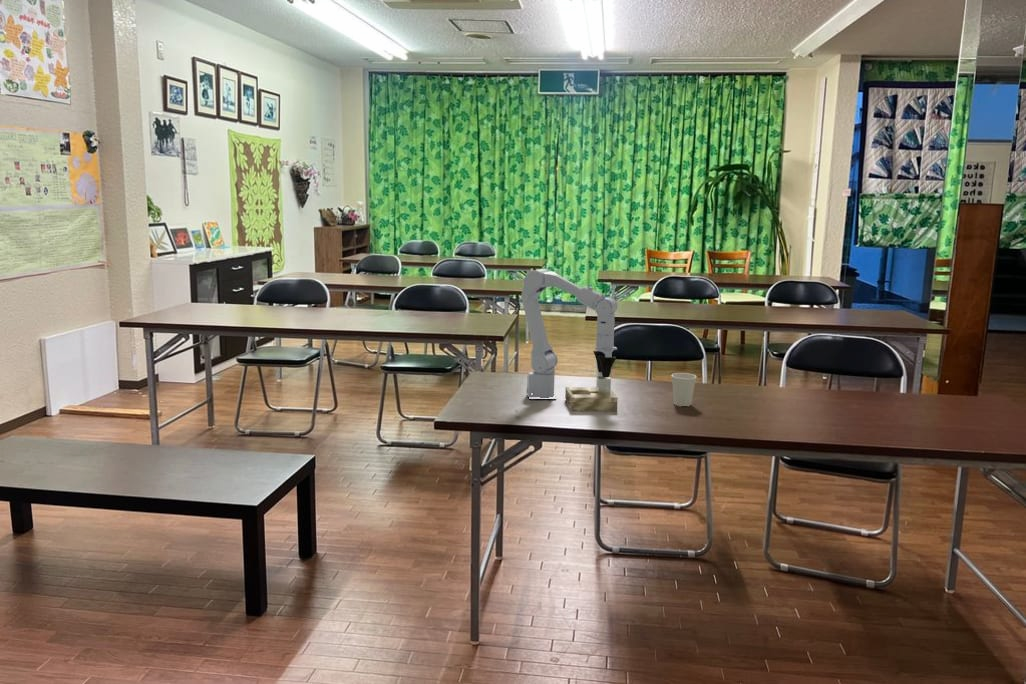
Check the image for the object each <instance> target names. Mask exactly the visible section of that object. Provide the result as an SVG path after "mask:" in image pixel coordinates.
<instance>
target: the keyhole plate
mask: <svg viewBox="0 0 1026 684" xmlns="http://www.w3.org/2000/svg"><path fill="white" fill-rule="evenodd" d="M564 396H565V397H564V400H565V399H566V401H570V402H569V403H570V405H569V409H570V408H571V410H603V411H602V412H617V411H618V402H619V400H618V399H619V397H618V396H617V395H616V394H615V393H614V391H613V389H612V388H611V389H610V394H598V393H597V391H596V386H592V387H590V386H588V387H587V386H586V387H583V386H577V387H575V386H573V387H571V386H569V387H567V386H566V387H565V395H564ZM566 401H565V402H566ZM571 410H570V411H571ZM604 410H606V411H604Z"/></svg>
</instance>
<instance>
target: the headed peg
mask: <svg viewBox="0 0 1026 684" xmlns="http://www.w3.org/2000/svg"><path fill="white" fill-rule="evenodd" d="M595 383H596V384H595V385H596V386H595V387H596V391H597V393H598V394H610V389H611V390H612V388H611V383H612V378H611V377H610V376H609V377H602V375H600V376H599V375H597V376H596V382H595Z"/></svg>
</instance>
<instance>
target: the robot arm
mask: <svg viewBox="0 0 1026 684" xmlns="http://www.w3.org/2000/svg"><path fill="white" fill-rule="evenodd" d="M552 287H554V288H557V289H560V290H561V291H564V292H566V293H568V294H570V295H572V296H575V297H576V300H577V302H578V303H580V304H582V305H584V306H586V307H587V308H589V309H591V310H593V311H595V313H596V315H597V316H596V317H597V318H596V338H595V343H596V344H595V350H593V351H592V353H593V354H594V356H595V360H596V365H597V366H596V367H597V371H598V373H601V376H602V377H610V375H611V372H612V368H613V365H614V363H615V361H616V359H617V357H616V356H613V355H612V354H613V352H614V351H617V350H618V347H616V346H614V345H615V343H614V342H615V341H614V338H615V316H616V315H615V313H616V311H617V310H618V303H617V301H616V299H615V298H613V297H612V296H606V294H605V293H600V292H598V291H596V290H594V287H593V286H590V285H589V286H586V285H585V286H583V287H582V286H581V287H580V286H578V284H575V283H573V282H572V281H571V280H569V279H567V278H565V277H563V276H561V275H560V274H558V273H557V272H555V271H553V270H550V269H548V268H540V269H536V270H535V269H534V270H530V271H529V272H527V274H526V275H525V277H524V278H523V287H522V291H521V295H520V296H521V298H520V299H521V302H522V304H523V305H522V306H523V310H524V315H525V319H526V323H527V326H528V330H529V335H530V340H531V344H532V349H531V352H530V355H531V361H530V365H531V366H530V367H531V369H532V370H533V371H530V372H529V371H528V372H527V376H526V377H527V379H526V395H527V394H528V396H527V398H528V397H540V398H549V397H553V396H554V395H555V375H556V373H555V372H556V371H555V367H556V366H558V365H557V364H558V356H557V354H556V353H555V351H554V350H553V346H552V345H551V344H550V343H549V340H548V336H547V332H546V327H545V324H544V319H543V315H542V311H541V307H540V303H539V302H540V301H539V297H540V295H541V294H542V292H543V291H544V290H546V289H547V288H552ZM531 393H533V395H531Z"/></svg>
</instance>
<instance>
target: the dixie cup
mask: <svg viewBox="0 0 1026 684" xmlns="http://www.w3.org/2000/svg"><path fill="white" fill-rule="evenodd" d="M697 378H698V377H697V375H696V374H694V373H693V374H692V373H688V372H687V373H686V372H675V373H672V374H671V382H672V383H671V384H672V395H673V397H672V398H673V405H674V404H675V405H674V406H676V405H677V407H681V406H688V407H691V406H692V402H693V396H694V392H695V384H696V381H697ZM690 405H691V406H690Z"/></svg>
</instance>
